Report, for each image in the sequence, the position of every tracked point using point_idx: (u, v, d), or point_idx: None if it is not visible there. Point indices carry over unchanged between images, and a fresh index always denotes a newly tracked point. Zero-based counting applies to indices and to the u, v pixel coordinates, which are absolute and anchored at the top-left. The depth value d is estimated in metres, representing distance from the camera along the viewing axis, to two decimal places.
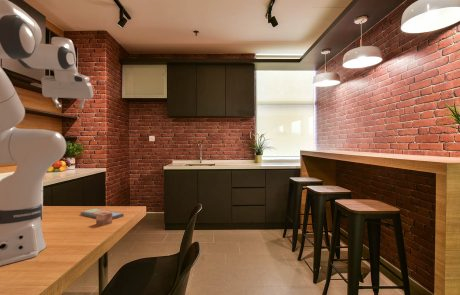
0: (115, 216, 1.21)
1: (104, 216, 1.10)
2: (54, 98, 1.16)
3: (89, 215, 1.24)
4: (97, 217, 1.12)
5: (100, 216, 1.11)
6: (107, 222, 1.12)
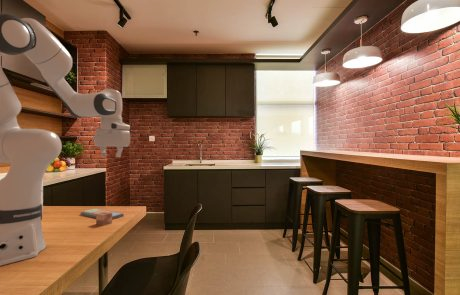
0: (115, 216, 1.21)
1: (104, 216, 1.10)
2: (101, 147, 1.17)
3: (89, 215, 1.24)
4: (97, 217, 1.12)
5: (100, 216, 1.11)
6: (107, 222, 1.12)
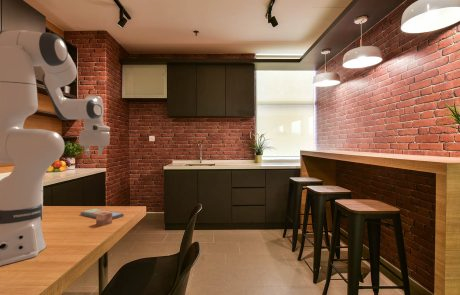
0: (115, 216, 1.21)
1: (104, 216, 1.10)
2: (85, 146, 1.33)
3: (89, 215, 1.24)
4: (97, 217, 1.12)
5: (100, 216, 1.11)
6: (107, 222, 1.12)
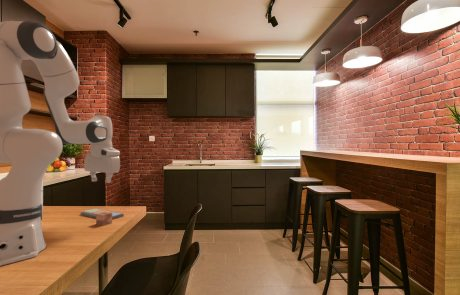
0: (115, 216, 1.21)
1: (104, 216, 1.10)
2: (91, 172, 1.18)
3: (89, 215, 1.24)
4: (97, 217, 1.12)
5: (100, 216, 1.11)
6: (107, 222, 1.12)
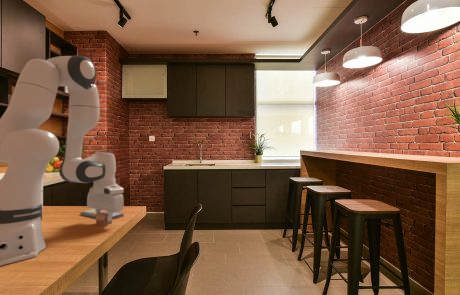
0: (115, 216, 1.21)
1: (104, 216, 1.10)
2: (96, 209, 1.14)
3: (89, 215, 1.24)
4: (97, 217, 1.12)
5: (100, 216, 1.11)
6: (107, 222, 1.12)
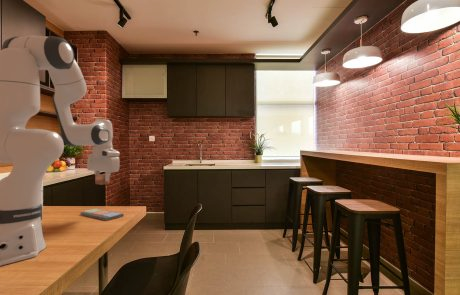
0: (115, 216, 1.21)
1: (102, 176, 1.24)
2: (95, 171, 1.27)
3: (89, 215, 1.24)
4: (96, 177, 1.25)
5: (99, 176, 1.24)
6: (105, 182, 1.25)
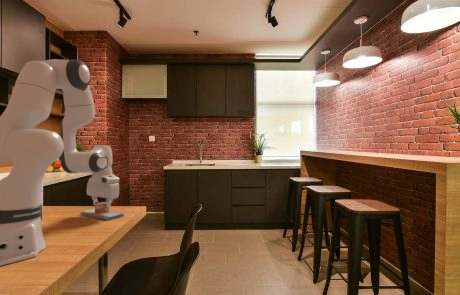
0: (115, 216, 1.21)
1: (102, 205, 1.24)
2: (92, 196, 1.28)
3: (89, 215, 1.24)
4: (95, 206, 1.25)
5: (98, 205, 1.24)
6: (104, 211, 1.25)
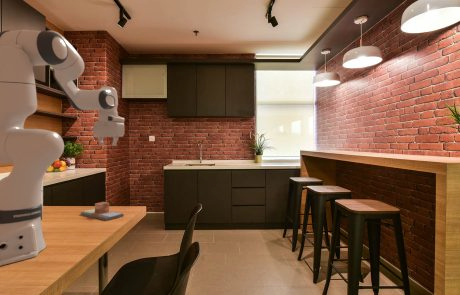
0: (115, 216, 1.21)
1: (102, 205, 1.24)
2: (99, 137, 1.34)
3: (89, 215, 1.24)
4: (95, 206, 1.25)
5: (98, 205, 1.24)
6: (104, 211, 1.25)
